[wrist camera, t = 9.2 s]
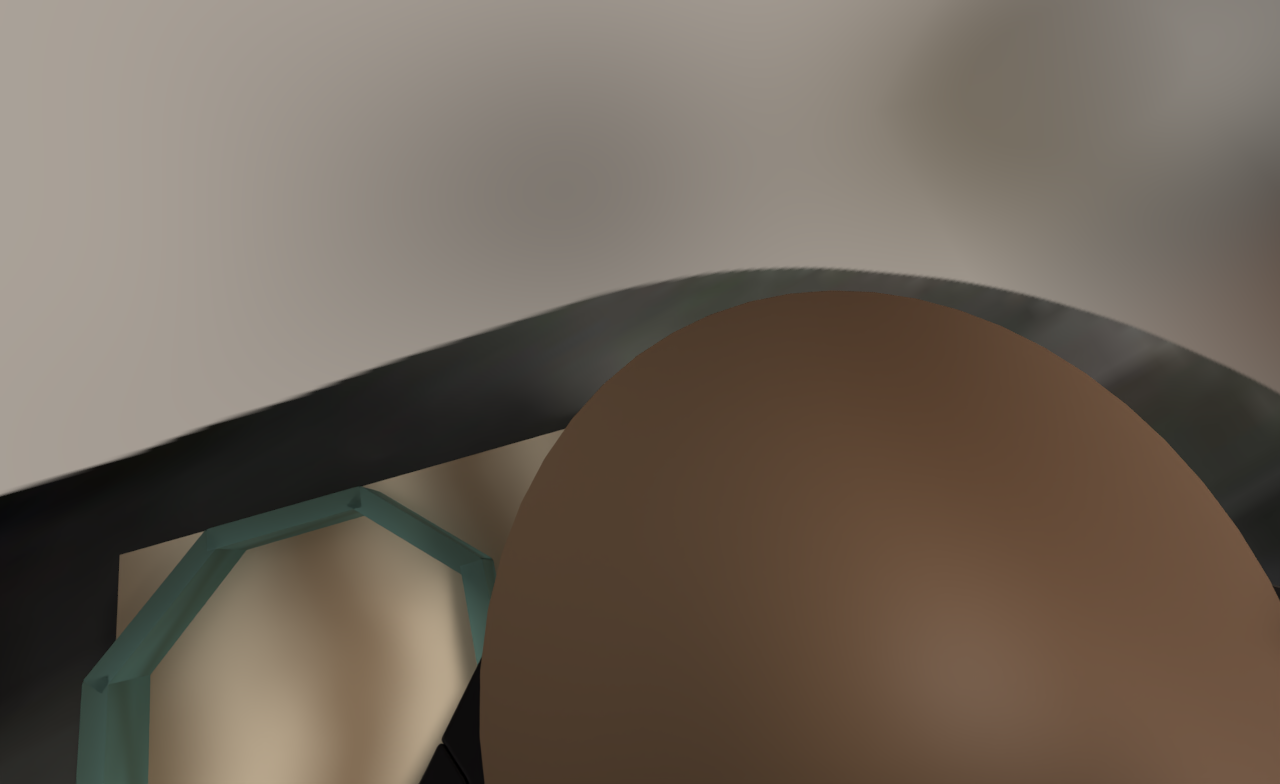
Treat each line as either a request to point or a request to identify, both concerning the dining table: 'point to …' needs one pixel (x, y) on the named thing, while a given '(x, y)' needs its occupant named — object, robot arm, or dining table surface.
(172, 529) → the dining table surface
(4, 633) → the dining table surface
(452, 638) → the gear board
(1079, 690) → the gear
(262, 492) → the dining table surface
